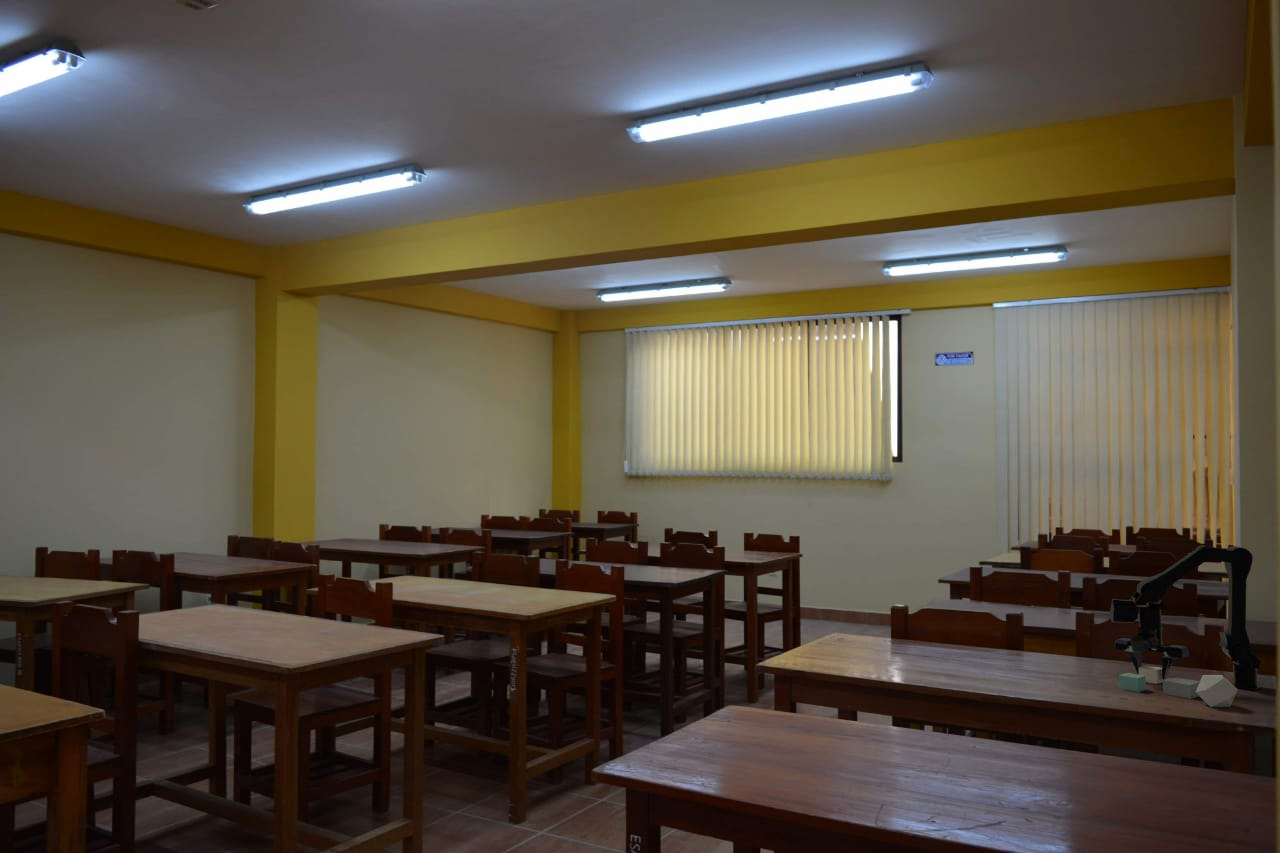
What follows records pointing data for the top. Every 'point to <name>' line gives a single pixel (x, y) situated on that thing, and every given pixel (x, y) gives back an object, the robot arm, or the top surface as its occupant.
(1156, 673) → the cream brick
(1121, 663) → the top surface
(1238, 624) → the robot arm
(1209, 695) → the die
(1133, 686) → the teal brick
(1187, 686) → the base block
